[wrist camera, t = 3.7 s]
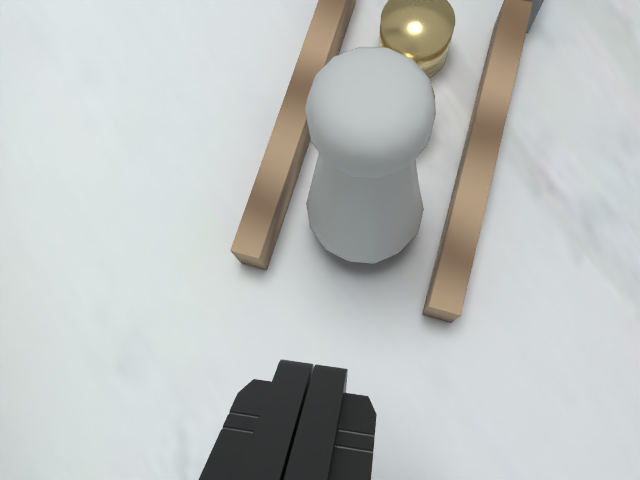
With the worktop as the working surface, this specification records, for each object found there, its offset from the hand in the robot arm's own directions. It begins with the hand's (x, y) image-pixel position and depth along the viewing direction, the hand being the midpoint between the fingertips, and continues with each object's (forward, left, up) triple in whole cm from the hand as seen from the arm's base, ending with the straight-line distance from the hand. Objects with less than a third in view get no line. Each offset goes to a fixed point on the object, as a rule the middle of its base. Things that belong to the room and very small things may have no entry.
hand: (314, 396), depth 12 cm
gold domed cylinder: (+15, +14, -15) cm, 25 cm away
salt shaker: (+6, +7, -16) cm, 18 cm away
